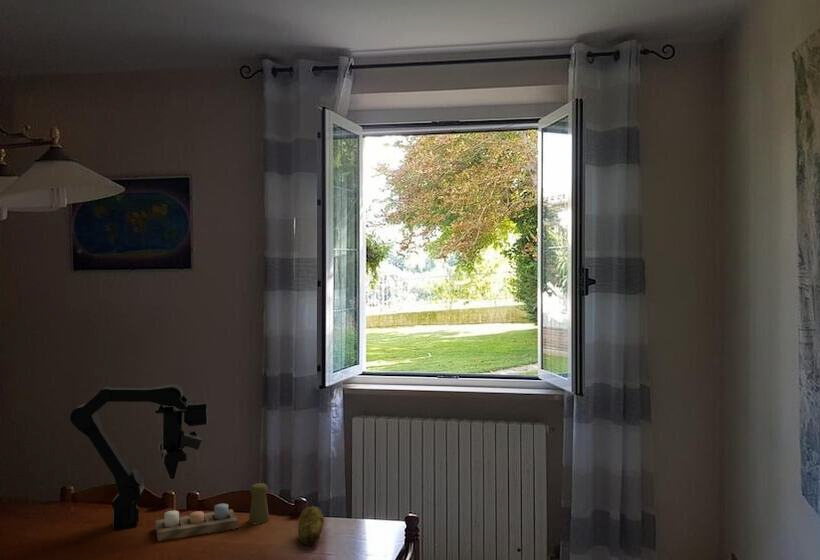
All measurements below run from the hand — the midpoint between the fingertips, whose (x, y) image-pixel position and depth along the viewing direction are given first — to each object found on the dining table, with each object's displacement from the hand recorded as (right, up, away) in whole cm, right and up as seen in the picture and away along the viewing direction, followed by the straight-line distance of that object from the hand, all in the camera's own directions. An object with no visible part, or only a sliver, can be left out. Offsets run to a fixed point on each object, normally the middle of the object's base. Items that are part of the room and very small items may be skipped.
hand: (172, 478), depth 198 cm
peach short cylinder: (+9, -13, -6) cm, 17 cm away
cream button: (+3, -11, -9) cm, 14 cm away
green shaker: (+26, -13, +1) cm, 29 cm away
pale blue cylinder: (+16, -11, -3) cm, 19 cm away
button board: (+9, -13, -6) cm, 17 cm away
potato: (+44, -13, -13) cm, 47 cm away
